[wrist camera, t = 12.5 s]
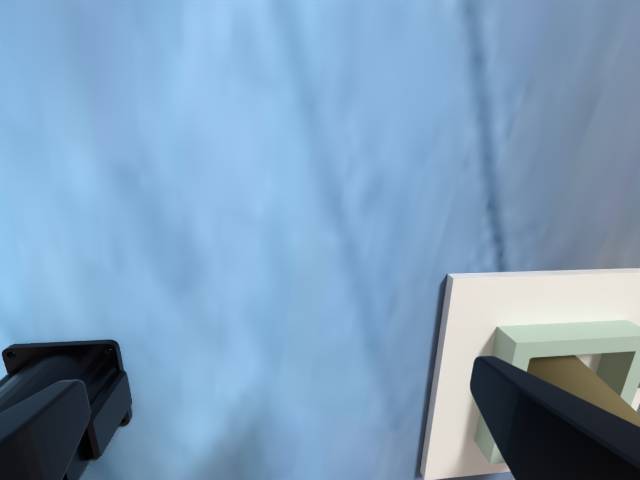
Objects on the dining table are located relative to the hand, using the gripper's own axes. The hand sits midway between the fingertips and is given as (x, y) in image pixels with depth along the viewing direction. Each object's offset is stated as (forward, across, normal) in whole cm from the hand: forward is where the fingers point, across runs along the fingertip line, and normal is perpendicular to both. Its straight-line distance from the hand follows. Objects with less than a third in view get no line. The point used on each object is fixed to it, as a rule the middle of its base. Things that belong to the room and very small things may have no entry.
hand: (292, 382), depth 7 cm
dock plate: (+13, -20, +12) cm, 27 cm away
